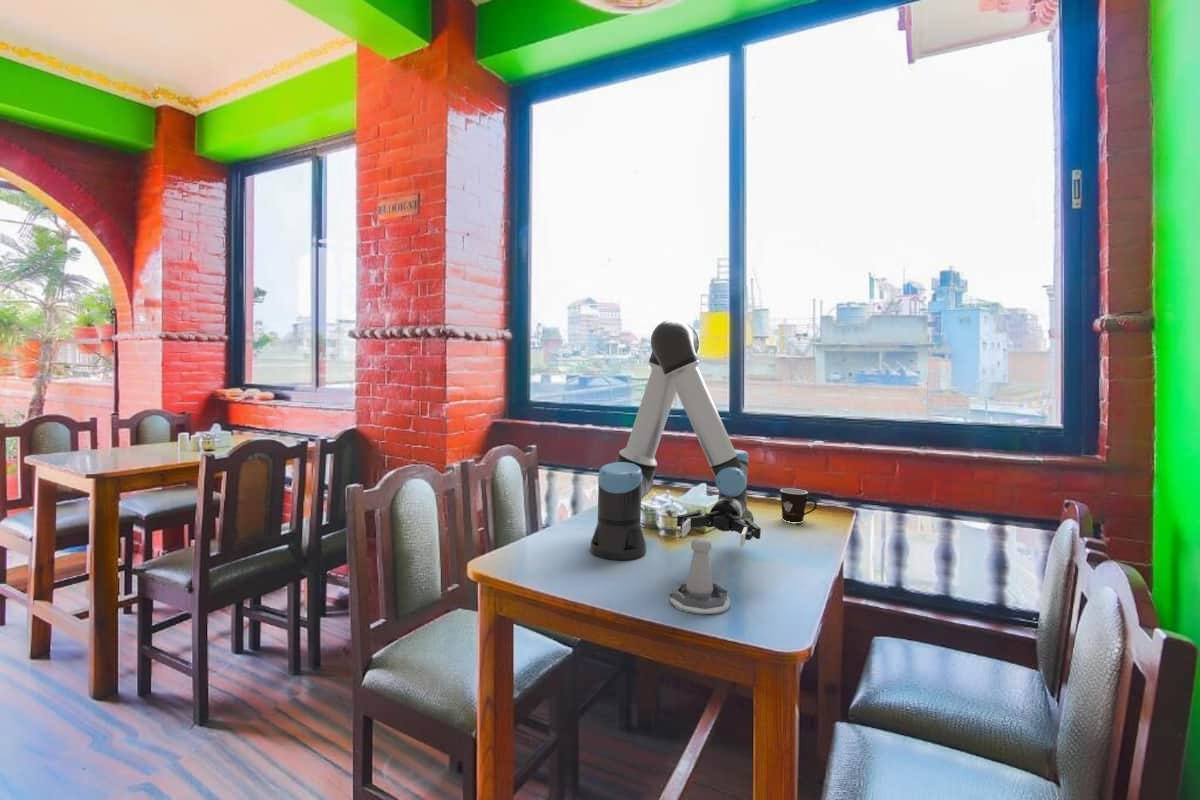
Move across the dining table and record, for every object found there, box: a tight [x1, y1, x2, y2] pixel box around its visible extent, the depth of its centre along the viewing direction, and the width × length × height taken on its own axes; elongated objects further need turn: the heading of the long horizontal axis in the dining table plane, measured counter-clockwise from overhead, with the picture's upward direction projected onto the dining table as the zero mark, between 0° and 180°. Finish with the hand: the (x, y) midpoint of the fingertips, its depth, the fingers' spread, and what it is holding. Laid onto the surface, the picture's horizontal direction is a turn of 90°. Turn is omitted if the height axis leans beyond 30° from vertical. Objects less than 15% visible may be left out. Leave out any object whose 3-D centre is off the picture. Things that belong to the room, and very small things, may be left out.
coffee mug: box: [779, 487, 818, 522], centre depth 195 cm, size 12×9×10 cm
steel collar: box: [669, 581, 731, 615], centre depth 129 cm, size 13×13×2 cm
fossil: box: [740, 507, 755, 523], centre depth 192 cm, size 11×9×10 cm
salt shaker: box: [686, 537, 714, 600], centre depth 129 cm, size 6×6×13 cm
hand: (712, 535), depth 137 cm, fingers open, 13 cm apart
